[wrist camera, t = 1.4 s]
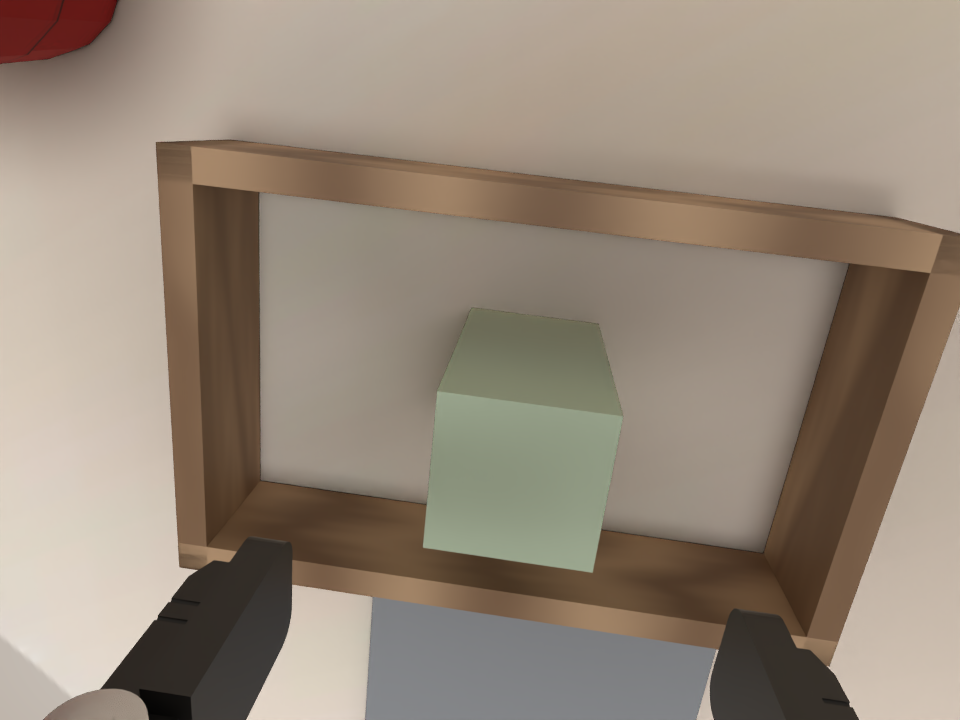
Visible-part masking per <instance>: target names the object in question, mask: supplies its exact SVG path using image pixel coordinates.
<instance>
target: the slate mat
mask: <svg viewBox="0 0 960 720" xmlns="http://www.w3.org/2000/svg"><path fill="white" fill-rule="evenodd" d="M715 651H716V649H712V648H706V647H699V646H693V645H686V644H679V643H673V642H666V641H660V640H653V639H647V638H640V637H634V636H627V635H620V634H614V633H607V632H601V631H594V630H588V629H581V628H575V627H568V626H561V625H555V624H548V623H542V622H535V621H529V620H522V619H516V618H509V617H503V616H496V615H489V614H483V613H476V612H470V611H463V610H457V609H450V608H444V607H437V606H430V605H424V604H417V603H411V602H404V601H398V600H391V599H385V598H378V597H373V606H372V622H371V637H370V653H369V669H368V685H367V701H366V716H365V720H696V718H697V715H698V711H699V708H700V704H701V701H702V697H703V694H704V690H705V687H706V683H707V679H708V676H709V672H710V669H711V665H712V662H713V658H714V655H715Z"/></svg>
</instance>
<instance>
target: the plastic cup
mask: <svg viewBox="0 0 960 720" xmlns="http://www.w3.org/2000/svg"><path fill="white" fill-rule="evenodd" d="M116 3H117V0H0V64H3V63H12V62H23V61H33V60H43V59H50V58H53V57H56V56H58V55H61V54H64V53H67V52H70V51H73V50H76V49H79V48H80V47H83V46H86V45H89V44H90V43H91V42H92V41H93V40H94V39H95V38H96V36H97V35H98V34H99V33H100V32H101V31H102V30H103V29H104V28H105V27H106V26H107V25H108V24H109V22H110V21H111V19H112V16H113V13H114V10H115V7H116Z"/></svg>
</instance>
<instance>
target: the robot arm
mask: <svg viewBox="0 0 960 720" xmlns="http://www.w3.org/2000/svg"><path fill="white" fill-rule="evenodd" d="M292 558H293V550H292V544H291V543H290V542H288V541H281V540H274V539H267V538H260V537H254V536H250V537H248V538H247V539H246V540H245V541H244V542H243V544H242V545H241V547H240V548H239V549H238V551H237V552H236V554H235V555H234V556H233V558H232V559H231V561H230V562H224V561H217V560H213V561H212V562H210V563H209V564H207V565H206V566H204V567H203V568H201V569H199V570H198V571H196V572H195V573H193V574H192V575H190V576H189V577H188V578H187V579H186V580H185V582H184V583H183V584H182V586H181V587H180V588H179V589H178V591H177V592H176V593H175V595H174V596H173V597H172V600H171V602H168V603H167V605H166V606H165V607H164V609H163V610H162V611H161V612H160V614H159V615H158V618H157V620H154V621H153V623H152V624H151V625H150V626H149V628H148V629H147V630H146V632H145V633H144V634H143V635H142V637H141V638H140V639H139V641H138V642H137V643H136V644H135V646H134V647H133V648H132V650H131V651H130V652H129V653H128V655H127V656H126V657H125V658H124V660H123V661H122V662H121V664H120V665H119V666H118V667H117V669H116V670H115V671H114V673H113V674H112V675H111V676H110V678H109V679H108V680H107V681H106V683H105V684H104V685H103V687H102V688H101V689H100V690H95V691H91V692H87V693H84V694H82V695H79V696H76V697H74V698H72V699H70V700H68V701H67V702H65V703H63V704H62V705H60V706H58V707H57V708H56V709H55V710H53V711H52V712H51V713H50V714H48V716H46V717H45V718H44V719H43V720H246V719H247V717H248V715H249V713H250V711H251V709H252V707H253V705H254V703H255V701H256V699H257V697H258V695H259V693H260V691H261V689H262V687H263V685H264V683H265V681H266V678H267V676H268V674H269V672H270V670H271V668H272V666H273V664H274V662H275V660H276V658H277V656H278V654H279V652H280V650H281V648H282V646H283V644H284V641H285V639H286V636H287V632H288V628H289V624H290V619H291V611H292ZM710 703H711V710H712V714H713V718H714V720H859V719H858V717H857V715H856V713H855V711H854V709H853V708H852V707H850V706H849V703H850V702H849V700H848V698H847V696H846V695H845V693H844V691H843V689H842V687H841V685H840V683H839V682H838V680H837V678H836V676H835V674H834V673H833V672H832V671H831V670H830V669H829V668H828V667H827V666H826V665H825V664H824V663H823V662H822V661H821V660H820V659H819V658H818V657H817V656H816V655H815V654H814V653H813V652H812V651H811V650H808V649H801V648H797V647H796V645H795V643H794V641H793V639H792V637H791V635H790V633H789V631H788V629H787V627H786V625H785V623H784V621H783V619H782V618H781V617H780V616H779V615H777V614H771V613H764V612H757V611H750V610H744V609H737V608H735V609H733V610H732V611H731V613H730V615H729V617H728V620H727V624H726V627H725V630H724V634H723V637H722V641H721V644H720V648H719V651H718V654H717V658H716V661H715V665H714V668H713V672H712V676H711V682H710Z"/></svg>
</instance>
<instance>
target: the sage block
mask: <svg viewBox="0 0 960 720" xmlns="http://www.w3.org/2000/svg"><path fill="white" fill-rule="evenodd" d="M622 421H623V413H622V410H621V406H620V402H619V399H618V395H617V391H616V387H615V384H614V380H613V376H612V372H611V369H610V365H609V361H608V358H607V354H606V350H605V346H604V343H603V339H602V335H601V332H600V328H599V324H596V323H588V322H580V321H572V320H565V319H557V318H549V317H541V316H533V315H526V314H518V313H510V312H502V311H494V310H487V309H479V308H471V311H470V313H469V316H468V318H467V320H466V323H465V325H464V328H463V330H462V332H461V335H460V337H459V340H458V342H457V345H456V347H455V349H454V352H453V354H452V357H451V359H450V361H449V364H448V366H447V369H446V371H445V373H444V376H443V378H442V381H441V383H440V386H439V388H438V390H437V398H436V409H435V420H434V431H433V442H432V453H431V464H430V475H429V486H428V497H427V508H426V519H425V530H424V541H423V548H429V549H436V550H442V551H449V552H456V553H463V554H469V555H476V556H483V557H490V558H496V559H503V560H510V561H517V562H524V563H530V564H537V565H544V566H551V567H557V568H564V569H571V570H578V571H584V572H591V573H593V568H594V563H595V558H596V553H597V548H598V543H599V538H600V533H601V527H602V522H603V517H604V512H605V507H606V502H607V497H608V492H609V487H610V482H611V477H612V471H613V466H614V461H615V456H616V451H617V446H618V441H619V436H620V431H621V426H622Z"/></svg>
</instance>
